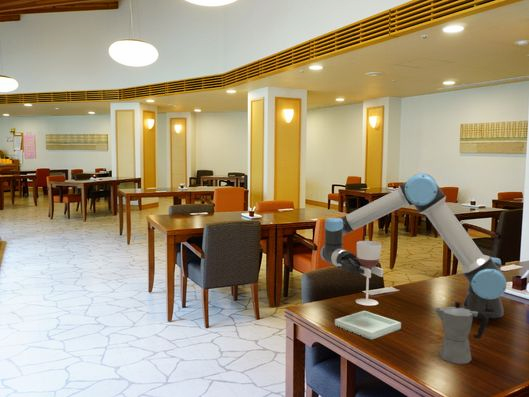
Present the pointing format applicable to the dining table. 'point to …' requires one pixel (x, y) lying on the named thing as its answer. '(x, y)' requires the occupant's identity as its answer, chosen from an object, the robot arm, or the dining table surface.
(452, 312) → the coffeepot
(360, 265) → the robot arm
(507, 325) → the dining table surface
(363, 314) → the tray
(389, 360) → the dining table surface
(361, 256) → the wineglass
